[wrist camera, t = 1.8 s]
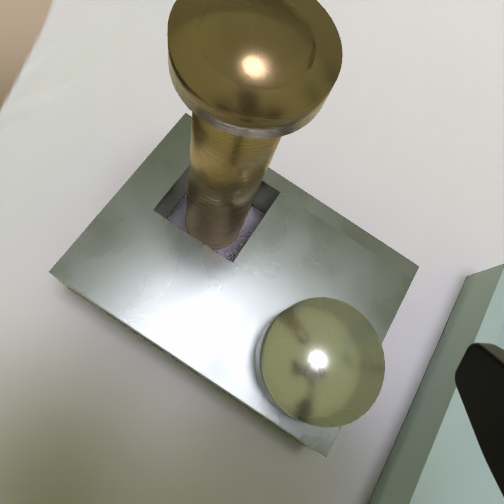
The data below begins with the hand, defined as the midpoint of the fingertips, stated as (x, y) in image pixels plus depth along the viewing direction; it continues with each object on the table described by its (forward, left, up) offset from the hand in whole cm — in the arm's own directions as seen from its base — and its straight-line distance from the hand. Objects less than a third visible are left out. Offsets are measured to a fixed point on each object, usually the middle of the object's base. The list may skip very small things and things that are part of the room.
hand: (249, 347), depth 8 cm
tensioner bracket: (+4, +1, -13) cm, 14 cm away
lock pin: (+6, +4, -13) cm, 15 cm away
